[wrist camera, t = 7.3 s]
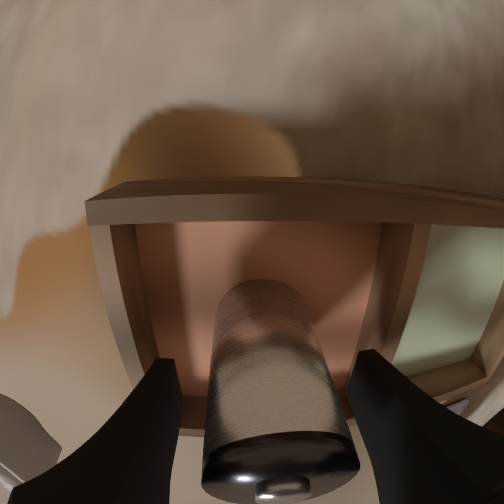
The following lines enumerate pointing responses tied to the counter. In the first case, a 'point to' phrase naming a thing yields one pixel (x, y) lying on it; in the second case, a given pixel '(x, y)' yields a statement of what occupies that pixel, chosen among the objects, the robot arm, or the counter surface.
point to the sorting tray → (305, 274)
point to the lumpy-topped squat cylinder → (23, 445)
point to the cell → (271, 403)
